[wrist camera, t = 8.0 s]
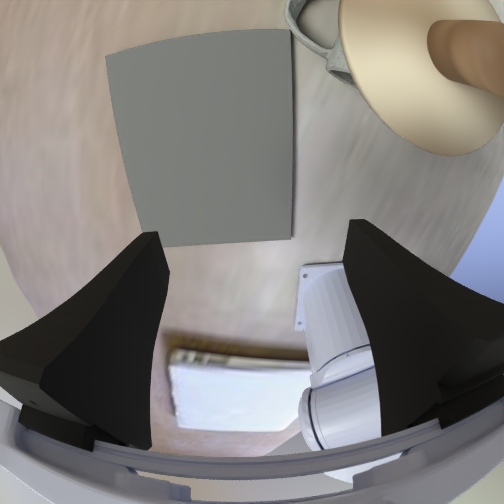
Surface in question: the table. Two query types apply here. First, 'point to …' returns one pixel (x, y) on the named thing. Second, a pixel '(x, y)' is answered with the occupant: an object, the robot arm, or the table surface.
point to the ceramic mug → (335, 55)
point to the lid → (428, 68)
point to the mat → (208, 135)
